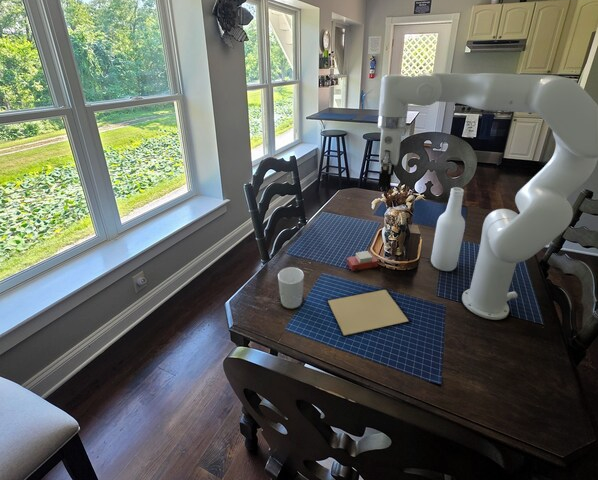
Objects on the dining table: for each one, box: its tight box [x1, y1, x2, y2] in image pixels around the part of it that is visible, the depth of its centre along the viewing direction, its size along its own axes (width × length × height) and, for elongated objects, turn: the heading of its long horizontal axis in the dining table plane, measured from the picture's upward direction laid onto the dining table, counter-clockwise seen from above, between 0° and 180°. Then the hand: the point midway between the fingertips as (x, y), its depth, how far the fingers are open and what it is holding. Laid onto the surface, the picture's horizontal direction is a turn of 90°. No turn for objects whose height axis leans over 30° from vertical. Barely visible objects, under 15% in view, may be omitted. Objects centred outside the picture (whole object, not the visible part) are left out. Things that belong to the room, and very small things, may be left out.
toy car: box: [346, 250, 379, 272], centre depth 117 cm, size 10×5×5 cm, turn 104°
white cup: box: [277, 266, 305, 309], centre depth 99 cm, size 8×8×10 cm
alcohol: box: [430, 186, 466, 272], centre depth 112 cm, size 9×9×30 cm
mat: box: [327, 289, 409, 336], centre depth 97 cm, size 20×14×1 cm
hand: (386, 180), depth 95 cm, fingers open, 9 cm apart
